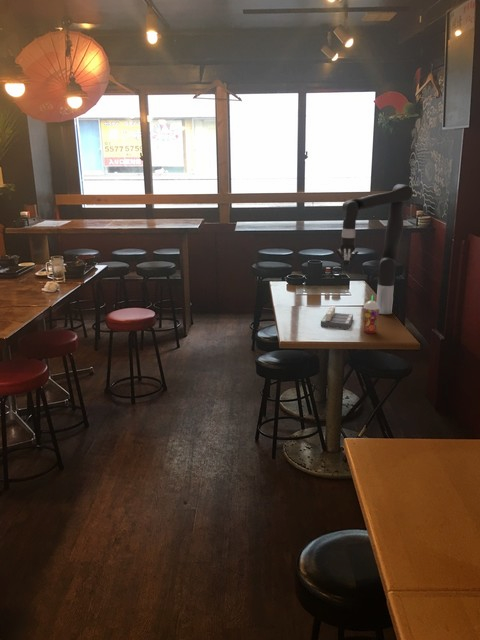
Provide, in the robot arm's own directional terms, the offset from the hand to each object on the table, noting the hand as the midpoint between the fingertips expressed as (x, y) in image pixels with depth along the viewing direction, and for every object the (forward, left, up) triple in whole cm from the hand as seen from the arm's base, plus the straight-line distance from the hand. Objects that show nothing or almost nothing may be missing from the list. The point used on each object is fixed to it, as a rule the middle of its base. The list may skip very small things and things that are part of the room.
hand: (346, 266), depth 322 cm
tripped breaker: (+5, +18, -26) cm, 32 cm away
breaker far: (+5, +12, -26) cm, 29 cm away
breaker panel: (+1, +18, -29) cm, 34 cm away
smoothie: (-18, +29, -29) cm, 45 cm away
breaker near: (+5, +24, -26) cm, 36 cm away
